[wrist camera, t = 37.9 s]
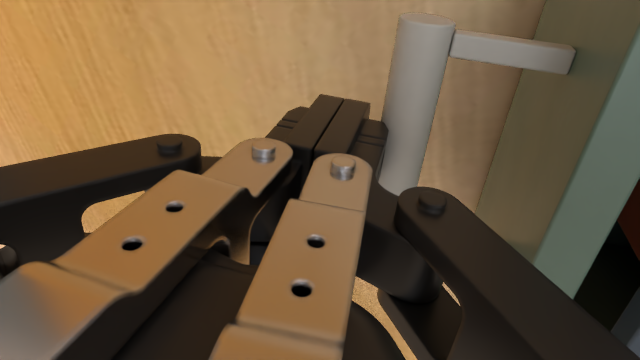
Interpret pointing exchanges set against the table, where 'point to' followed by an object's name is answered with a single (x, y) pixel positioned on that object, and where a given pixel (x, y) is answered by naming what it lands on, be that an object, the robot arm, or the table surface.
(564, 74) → the drawer
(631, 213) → the block
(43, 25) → the table surface
